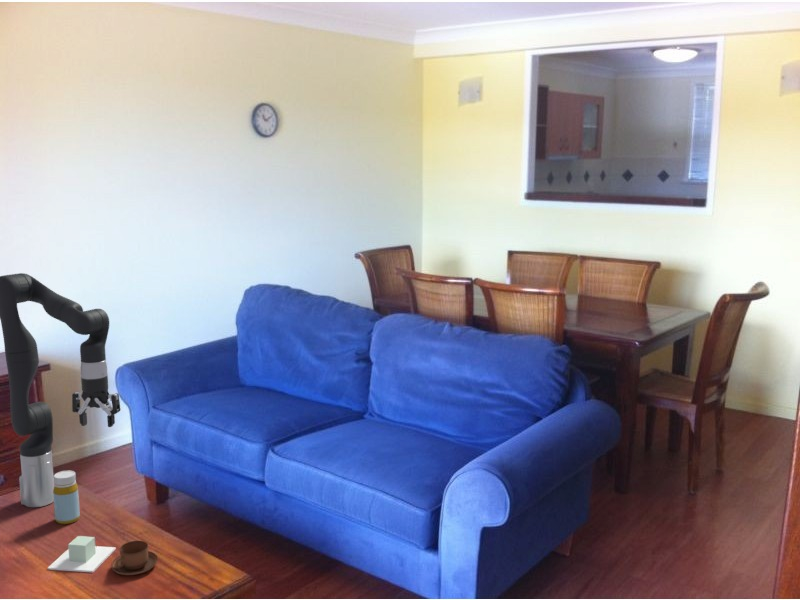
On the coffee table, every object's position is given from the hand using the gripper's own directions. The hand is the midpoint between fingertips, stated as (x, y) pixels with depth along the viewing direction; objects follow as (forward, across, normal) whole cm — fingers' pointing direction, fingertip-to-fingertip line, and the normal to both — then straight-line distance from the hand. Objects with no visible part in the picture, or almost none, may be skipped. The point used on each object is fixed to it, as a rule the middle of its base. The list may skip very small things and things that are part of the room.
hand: (97, 425), depth 232 cm
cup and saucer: (+30, -24, +27) cm, 47 cm away
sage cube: (+30, -7, +25) cm, 39 cm away
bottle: (+30, +10, +3) cm, 32 cm away
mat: (+30, -7, +25) cm, 40 cm away
